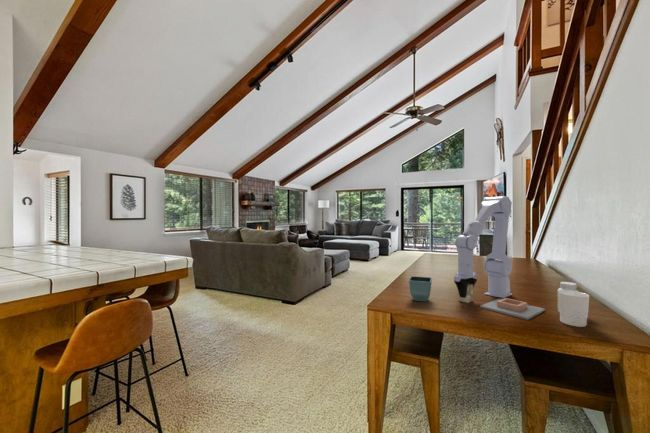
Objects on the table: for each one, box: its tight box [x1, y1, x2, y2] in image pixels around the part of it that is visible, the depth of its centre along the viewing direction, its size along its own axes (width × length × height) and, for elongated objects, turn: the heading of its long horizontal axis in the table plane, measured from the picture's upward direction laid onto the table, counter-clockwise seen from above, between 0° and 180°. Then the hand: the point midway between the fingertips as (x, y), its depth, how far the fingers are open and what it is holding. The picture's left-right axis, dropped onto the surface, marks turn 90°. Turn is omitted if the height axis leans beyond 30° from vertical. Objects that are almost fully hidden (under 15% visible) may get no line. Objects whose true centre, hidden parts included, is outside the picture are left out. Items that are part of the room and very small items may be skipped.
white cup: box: [557, 290, 590, 328], centre depth 97 cm, size 8×8×10 cm
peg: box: [457, 284, 474, 304], centre depth 121 cm, size 4×4×7 cm
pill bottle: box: [556, 281, 580, 313], centre depth 106 cm, size 6×6×11 cm
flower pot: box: [408, 275, 433, 303], centre depth 123 cm, size 9×9×9 cm
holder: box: [480, 297, 546, 321], centre depth 111 cm, size 16×16×3 cm
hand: (465, 296), depth 121 cm, fingers closed on peg, 4 cm apart
